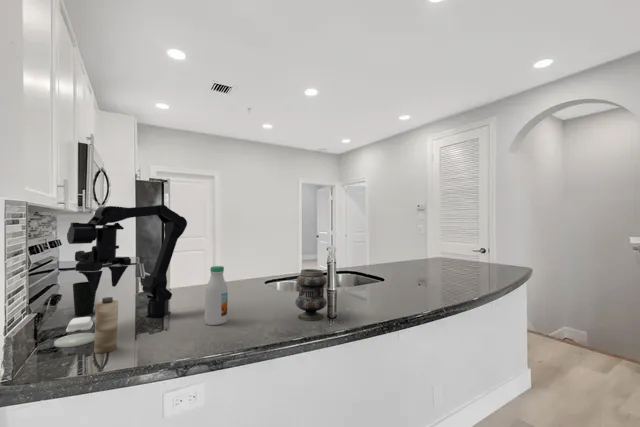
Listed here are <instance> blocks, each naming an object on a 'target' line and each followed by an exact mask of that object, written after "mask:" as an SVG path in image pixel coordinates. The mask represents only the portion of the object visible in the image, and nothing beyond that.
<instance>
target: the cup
mask: <svg viewBox="0 0 640 427" xmlns="http://www.w3.org/2000/svg"><path fill="white" fill-rule="evenodd" d="M72 291H73V292H72V293H73V305H74V306H73V307H74V316H75V317H88V316H91V315H93V314H94V309H95V308H94V307H95V303H96V302H95V301H96V294H97V291H96V292H92V290H91V287H90V285H89V282H88V281H81V282H80V281H79V282H76V283H75V282H74V283H73V284H72Z"/></svg>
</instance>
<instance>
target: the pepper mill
mask: <svg viewBox="0 0 640 427" xmlns="http://www.w3.org/2000/svg"><path fill="white" fill-rule="evenodd" d="M94 317H95V320H94V322H95V323H94V324H95V326H94V333H95V340H94V341H93V342H94V343H93V348H94V349H93V353H95V354H105V353H110V352H113V351H115V350H117V347H118V346H117V345H118V325H119V324H118V322H119V320H118V319H119V300H118V299H117V300H115V299H113V297H111V296H108V297H102V298H101V301H98V302H95V316H94Z"/></svg>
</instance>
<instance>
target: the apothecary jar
mask: <svg viewBox="0 0 640 427" xmlns="http://www.w3.org/2000/svg"><path fill="white" fill-rule="evenodd" d="M323 272H324V271H323V270H322V269H317V268H304V269H301V270H300V274H299V276H297V277H296V283H297V285H299V288H298V296H297V298H296V299H295V306H296V307H297V308H298V309H300V310H301V311H304V312H302V313H299V314H298V316H297V317H298V319H299V318H300V320H301V321H307V322H308V321H309V322H313V321H319V320H323V319H324V314H322V313H320V312H318V311H320V310H322V309H324V308H326V306H327V298H325V295H324V290H325V285H326V284H327V282H328V279H327V277H326V276H325V275H324V273H323Z"/></svg>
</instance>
